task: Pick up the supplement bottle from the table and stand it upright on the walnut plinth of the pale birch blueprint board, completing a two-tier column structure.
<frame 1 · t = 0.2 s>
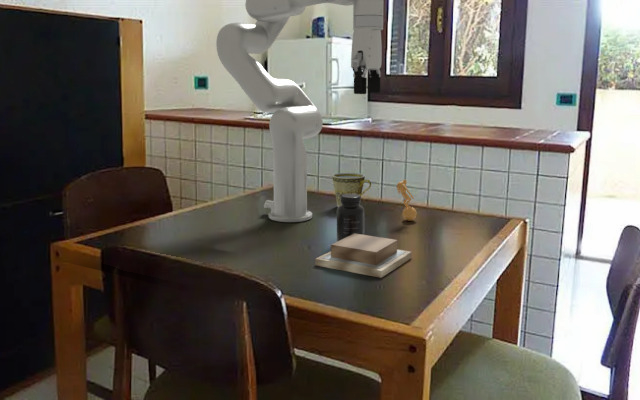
hand: (367, 93, 161), 36 cm above the table, tool pointing down, fingers open, 9 cm apart
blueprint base: (364, 261, 141), on the table
figurine: (406, 221, 178), on the table
supplement bottle: (350, 243, 156), on the table
ceramic cup: (352, 208, 195), on the table
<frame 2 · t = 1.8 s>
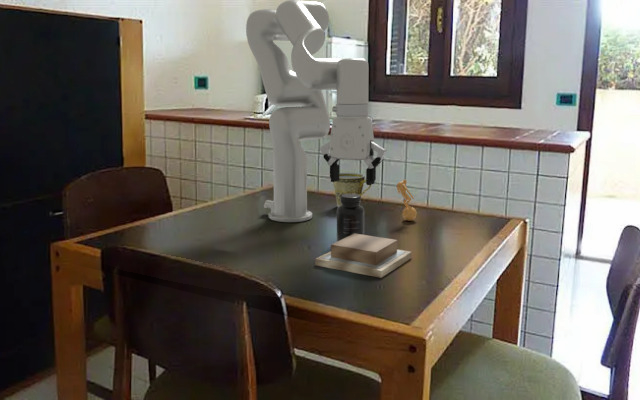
hand: (352, 182, 152), 15 cm above the table, tool pointing down, fingers open, 9 cm apart
nothing on the table moved.
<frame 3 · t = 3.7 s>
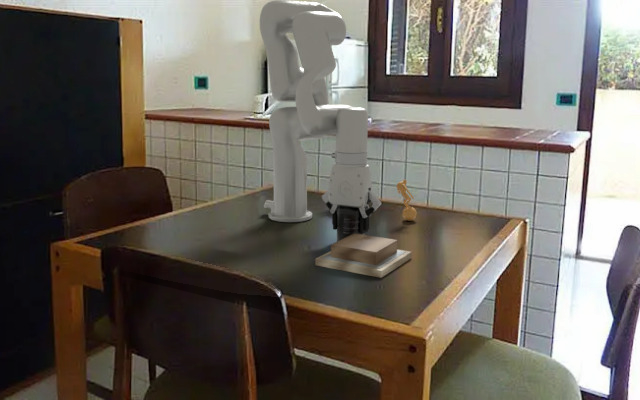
hand: (350, 229, 155), 3 cm above the table, tool pointing down, fingers closed on supplement bottle, 6 cm apart
supplement bottle: (350, 243, 156), on the table, touching gripper
everything else where it was.
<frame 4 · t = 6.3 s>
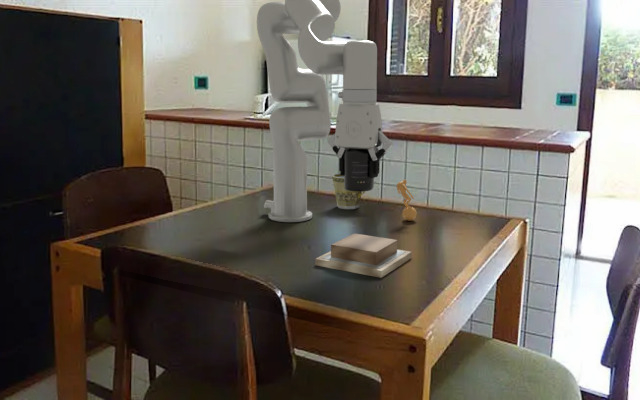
hand: (359, 175, 144), 18 cm above the table, tool pointing down, fingers closed on supplement bottle, 6 cm apart
supplement bottle: (358, 190, 145), point 15 cm above the table, touching gripper
everything else where it was.
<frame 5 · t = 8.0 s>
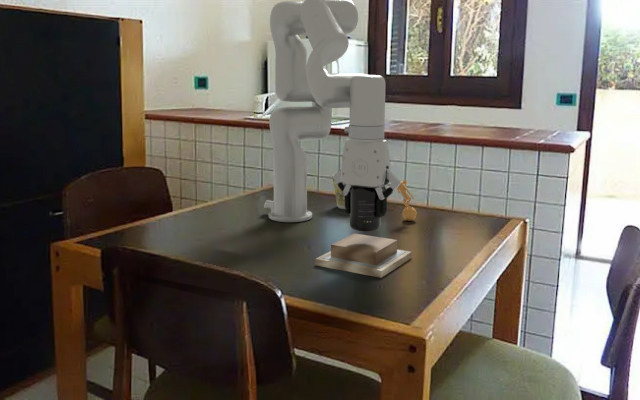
hand: (365, 213, 139), 11 cm above the table, tool pointing down, fingers closed on supplement bottle, 6 cm apart
supplement bottle: (365, 228, 139), point 8 cm above the table, touching gripper
everything else where it was.
when the fingers open (9 cm above the table, at t = 9.3 s): supplement bottle drops 1 cm, resting on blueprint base.
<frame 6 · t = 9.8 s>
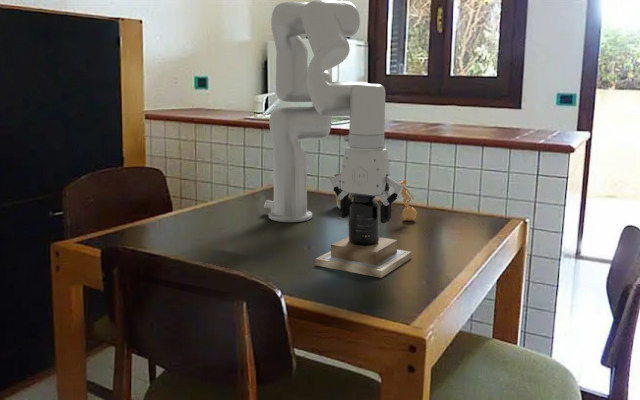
hand: (365, 219, 139), 10 cm above the table, tool pointing down, fingers open, 9 cm apart
supplement bottle: (363, 242, 140), point 4 cm above the table, touching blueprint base
everything else where it was.
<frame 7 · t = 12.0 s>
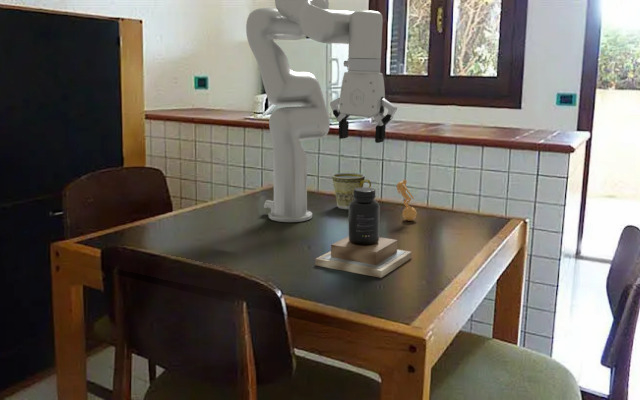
hand: (361, 140, 149), 26 cm above the table, tool pointing down, fingers open, 9 cm apart
nothing on the table moved.
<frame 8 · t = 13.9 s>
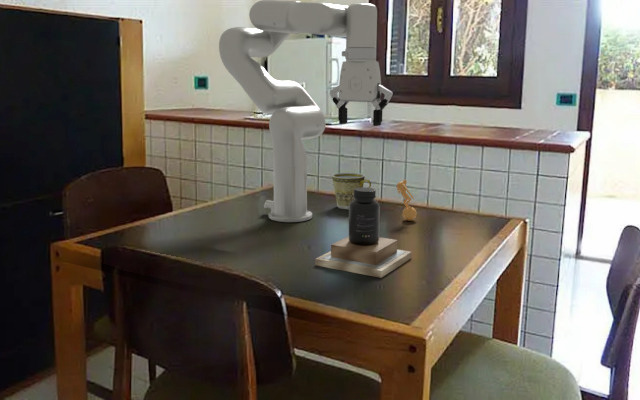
hand: (359, 124, 160), 28 cm above the table, tool pointing down, fingers open, 9 cm apart
nothing on the table moved.
at the end: supplement bottle inside the target area on the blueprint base (0.3 cm from its centre), point 4.3 cm above the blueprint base's base; supplement bottle tilted 0°; the gripper is holding nothing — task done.
